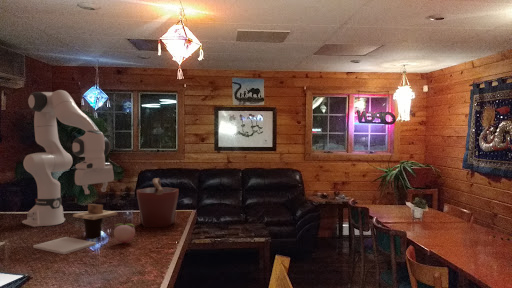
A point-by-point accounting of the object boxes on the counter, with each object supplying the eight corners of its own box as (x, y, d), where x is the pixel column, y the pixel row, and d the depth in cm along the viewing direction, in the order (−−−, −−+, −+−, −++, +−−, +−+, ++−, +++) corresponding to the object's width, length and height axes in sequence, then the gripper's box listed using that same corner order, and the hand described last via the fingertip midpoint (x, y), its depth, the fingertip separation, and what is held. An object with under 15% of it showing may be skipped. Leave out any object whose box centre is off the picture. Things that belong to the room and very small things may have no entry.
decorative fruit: (112, 247, 170) (112, 224, 170) (114, 242, 178) (114, 220, 178) (135, 245, 173) (135, 223, 172) (135, 240, 181) (135, 219, 180)
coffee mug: (96, 239, 181) (96, 218, 181) (79, 238, 183) (79, 217, 183) (110, 233, 193) (110, 213, 193) (94, 232, 195) (94, 212, 194)
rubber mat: (33, 247, 169) (33, 245, 169) (65, 238, 183) (65, 236, 183) (63, 254, 159) (63, 252, 159) (96, 244, 174) (96, 242, 174)
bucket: (170, 229, 202) (170, 181, 201) (128, 228, 203) (128, 180, 202) (181, 219, 227) (181, 176, 226) (143, 218, 227) (143, 175, 227)
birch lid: (72, 216, 185) (72, 205, 185) (97, 211, 197) (97, 201, 197) (93, 219, 178) (93, 208, 178) (117, 214, 191) (117, 203, 191)
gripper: (107, 162, 198) (107, 189, 198) (72, 165, 180) (72, 195, 180) (116, 162, 195) (117, 190, 195) (81, 165, 177) (82, 196, 177)
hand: (95, 192), depth 187 cm, fingers open, 8 cm apart
